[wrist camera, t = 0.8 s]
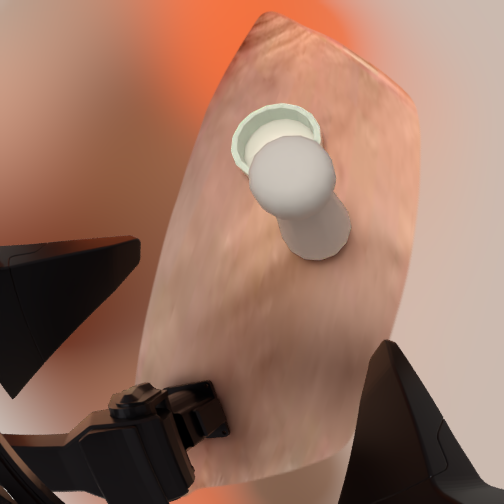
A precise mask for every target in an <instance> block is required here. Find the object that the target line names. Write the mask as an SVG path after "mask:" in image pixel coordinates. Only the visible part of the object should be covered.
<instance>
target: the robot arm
mask: <svg viewBox="0 0 504 504" xmlns="http://www.w3.org/2000/svg"><path fill="white" fill-rule="evenodd" d="M140 249H141V242H140V240H139V239H138V238H136V237H133V236H131V235H128V236H116V237H103V238H92V239H81V240H70V241H59V242H49V243H39V244H29V245H12V246H0V383H1V385H2V386H3V388H4V389H5V390H6V392H7V393H8V394H9V396H10V397H11V398H12V399H14V398H15V397H16V396H17V395H18V393H19V392H20V391H21V390H22V389H23V387H24V386H25V385H26V384H27V383H28V381H29V380H30V379H31V378H32V377H33V376H34V374H35V373H36V372H37V371H38V370H39V369H40V368H41V367H42V365H43V364H44V362H46V361H47V360H48V359H49V357H50V356H51V355H52V354H53V353H54V352H55V351H56V350H57V349H58V348H59V347H60V346H61V344H62V343H63V342H64V341H65V340H66V339H67V338H68V337H69V336H70V335H71V334H72V333H73V332H74V331H75V330H76V329H77V328H78V327H79V326H80V325H81V324H82V323H83V322H84V321H85V320H86V319H87V318H88V317H89V316H90V315H91V314H92V313H93V312H94V311H95V310H96V309H97V308H98V307H99V306H100V305H101V304H102V303H103V302H104V301H105V300H106V299H107V298H108V297H109V296H110V295H111V294H112V293H113V292H114V291H115V290H116V289H117V288H118V287H119V286H120V284H121V283H122V282H123V281H124V280H125V279H126V277H127V276H128V275H129V274H130V273H131V272H132V271H133V270H134V268H135V267H136V266H137V265H138V264H139V261H140ZM206 384H208V387H207V386H206ZM108 408H109V409H106V410H101V411H95V412H92V413H91V414H89V415H88V416H87V417H86V418H85V419H84V420H83V421H82V422H80V423H79V424H78V425H77V426H76V427H75V428H74V429H73V430H72V431H70V432H69V433H66V434H52V435H15V434H14V435H13V434H1V433H0V504H65V503H64V502H63V501H61V500H60V499H59V498H58V497H57V496H56V495H55V494H54V493H53V492H73V491H85V492H87V493H90V494H93V495H95V496H98V497H101V498H104V499H106V501H107V503H108V504H169V502H171V501H174V500H177V499H179V498H181V497H182V496H184V495H185V494H187V493H188V492H189V490H188V488H189V487H190V486H191V485H192V484H193V482H194V480H195V475H194V472H195V470H194V467H193V466H192V465H191V463H190V460H189V458H188V455H187V451H188V450H189V449H191V448H192V447H194V446H195V445H197V444H198V443H199V442H200V441H202V440H203V439H204V438H216V437H226V436H228V435H229V434H230V430H229V427H228V425H227V422H226V418H225V415H224V413H223V410H222V407H221V405H220V402H219V400H218V399H217V396H216V394H215V391H214V388H213V385H212V383H211V382H210V381H208V380H206V381H201V382H196V383H191V384H185V385H180V386H174V387H168V388H164V389H163V390H159V389H156V388H154V387H153V386H152V385H151V384H150V383H142V384H139V385H136V386H133V387H131V388H129V389H128V390H123V391H122V392H121V393H117V394H113V395H112V397H111V400H110V402H109V405H108ZM224 431H226V433H224ZM4 488H5V489H6V490H7V492H8V493H9V494H10V495H11V496H12V497H13V499H14V500H13V499H12V497H11V496H10V495H9V494H8V493H7V492H6V490H5V489H4ZM338 504H504V490H503V489H499V488H496V487H493V486H490V485H488V484H487V483H485V482H484V481H483V480H482V479H481V478H480V476H479V475H478V473H477V472H476V470H475V468H474V467H473V465H472V464H471V462H470V461H469V459H468V457H467V456H466V454H465V453H464V451H463V450H462V448H461V446H460V445H459V443H458V442H457V440H456V439H455V437H454V435H453V434H452V432H451V430H450V428H449V426H448V425H447V423H446V421H445V419H443V416H442V414H441V413H440V411H439V409H438V407H437V406H436V404H435V403H434V401H433V399H432V398H431V396H430V394H429V393H428V391H427V389H426V388H425V386H424V385H423V383H422V381H421V380H420V378H419V377H418V375H417V374H416V372H415V371H414V370H413V368H412V366H411V364H410V363H409V361H408V360H407V358H406V357H405V356H404V354H403V352H402V351H401V349H400V348H399V347H398V345H397V344H396V343H395V342H393V341H390V340H387V339H386V340H384V341H382V343H381V344H380V346H379V347H378V348H377V350H376V351H375V353H374V354H373V355H372V357H371V359H370V362H369V366H368V371H367V375H366V379H365V384H364V388H363V392H362V396H361V400H360V406H359V412H358V418H357V424H356V430H355V436H354V441H353V446H352V450H351V456H350V460H349V464H348V468H347V472H346V476H345V480H344V484H343V487H342V491H341V495H340V498H339V501H338Z"/></svg>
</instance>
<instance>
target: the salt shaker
mask: <svg viewBox="0 0 504 504" xmlns="http://www.w3.org/2000/svg"><path fill="white" fill-rule="evenodd" d="M248 173H249V185H250V190H251V192H252V194H253V196H254V197H255V198H256V200H257V201H258V203H259V204H260V206H261V207H262V208H263V209H264V210H265V211H266V212H268V213H270V214H272V215H274V216H276V218H277V221H278V224H279V228H280V231H281V234H282V238H283V240H284V241H285V243H286V244H287V246H288V247H289V249H290V250H291V251H292V252H293V253H295V254H297V255H298V256H300V257H302V258H304V259H309V260H323V259H326V258H328V257H331V256H333V255H336V254H337V253H338V252H339V250H340V249H341V248H342V247H343V246H344V245H345V244H346V242H347V240H348V236H349V233H350V230H351V223H350V218H349V213H348V211H347V209H346V208H345V207H344V205H343V204H342V202H341V201H340V200H339V198H338V197H337V195H336V194H335V193H334V191H333V190H334V187H335V183H336V175H335V171H334V167H333V163H332V160H331V158H330V156H329V154H328V153H327V152H326V151H325V150H324V149H323V148H322V146H321V145H320V144H319V143H318V142H317V141H314V140H312V139H309V138H306V137H304V136H301V135H297V136H282V137H279V138H277V139H275V140H273V141H271V142H268V143H266V144H265V145H264V146H263V147H262V148H261V149H260V150H259V151H258V152H257V153H256V154H255V155H254V158H253V160H252V163H251V166H250V168H249V171H248Z"/></svg>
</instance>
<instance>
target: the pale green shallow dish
mask: <svg viewBox="0 0 504 504" xmlns="http://www.w3.org/2000/svg"><path fill="white" fill-rule="evenodd" d="M297 135H301V136H304V137H306V138H309V139H312V140H314V141H317V142H318V143H319V144H320V145H321V146H322V148H323V142H322V135H321V130H320V126H319V124H318V123H317V121H316V120H315V118H314V117H313V115H312V114H311V113H309V112H308V111H306V110H304V109H303V108H301V107H299V106H296V105H290V104H285V103H281V104H274V105H267V106H265V107H262V108H260V109H258V110H256V111H254V112H252V113H251V114H250V115H248V116H247V117H246V118H245V119H244V120H243V121H242V122H241V123H240V124H239V126H238V128H237V130H236V131H235V133H234V135H233V137H232V147H231V152H232V155H233V158H234V160H235V163H236V165H237V166H238V167H239V168H240V169H241V170H242V172H243V173H244V174H245V175H246V176H248V177H249V173H248V171H249V168H250V166H251V163H252V160H253V158H254V155H255V154H256V153H257V152H258V151H259V150H260V149H261V148H262V147H263V146H264V145H265V144H266V143H268V142H271V141H273V140H275V139H277V138H279V137H282V136H297Z"/></svg>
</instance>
